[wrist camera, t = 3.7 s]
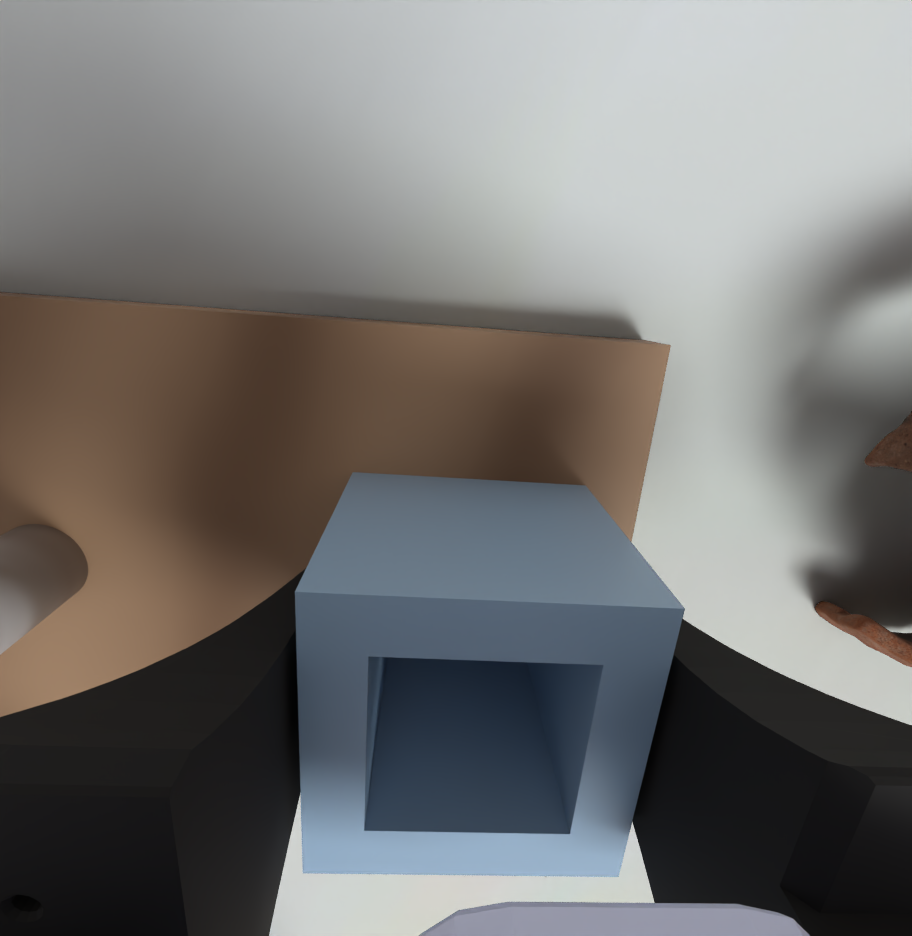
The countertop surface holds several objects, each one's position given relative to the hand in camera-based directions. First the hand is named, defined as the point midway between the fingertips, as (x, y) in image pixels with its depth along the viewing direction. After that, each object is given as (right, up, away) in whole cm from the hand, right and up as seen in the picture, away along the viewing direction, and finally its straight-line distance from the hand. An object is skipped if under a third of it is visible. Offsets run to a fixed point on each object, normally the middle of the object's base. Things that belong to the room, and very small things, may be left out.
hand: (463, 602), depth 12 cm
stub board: (-5, +1, +2) cm, 6 cm away
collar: (0, 0, +1) cm, 1 cm away
